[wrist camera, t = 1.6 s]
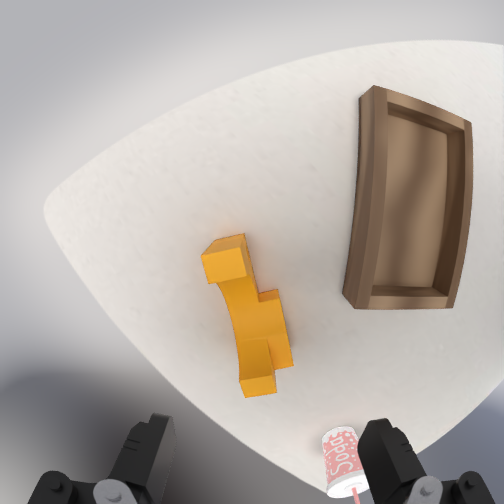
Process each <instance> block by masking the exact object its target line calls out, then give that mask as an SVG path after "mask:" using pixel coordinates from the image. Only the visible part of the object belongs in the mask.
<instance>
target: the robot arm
mask: <svg viewBox="0 0 504 504" xmlns="http://www.w3.org/2000/svg"><path fill="white" fill-rule="evenodd" d="M175 447H176V434H175V429H174V423H173V417H172V416H168V415H163V414H158V413H153V414H152V416H151V418H150V420H149V423H144V422H139V423H138V424H137V425H135V426H134V427H133V428H132V429H131V430H130V433H129V435H128V437H127V440H126V441H125V443H124V445H123V448H122V450H121V452H120V454H119V456H118V458H117V460H116V463H115V465H114V467H113V469H112V471H111V473H110V475H109V476H108V478H106V479H105V480H103V481H100V482H99V483H84V482H78V481H72V480H70V479H69V478H68V477H67V476H66V475H65V474H63V473H61V472H59V471H48V472H46V473H44V474H43V475H42V476H41V478H40V480H39V482H38V484H37V486H36V487H35V489H34V491H33V493H32V496H31V497H30V499H29V502H28V504H160V503H161V499H162V495H163V492H164V488H165V484H166V481H167V477H168V474H169V470H170V466H171V463H172V459H173V456H174V452H175ZM357 452H358V456H359V459H360V461H361V464H362V467H363V470H364V473H365V476H366V479H367V482H368V485H369V488H370V491H371V494H372V497H373V500H374V503H375V504H495V502H494V500H493V498H492V496H491V494H490V492H489V490H488V488H487V486H486V484H485V483H484V481H483V479H482V477H481V476H480V475H479V474H478V473H477V472H474V471H468V472H465V473H464V474H463V475H461V476H460V477H459V479H457V480H450V481H442V482H441V481H440V480H438V479H437V478H435V477H432V476H427V475H426V473H425V471H424V469H423V467H422V465H421V463H420V462H419V460H418V458H417V456H416V454H415V452H414V451H413V448H412V446H411V445H410V444H409V441H408V439H407V437H406V435H405V434H404V433H403V432H402V431H401V430H399V429H398V428H397V427H395V428H393V427H392V425H391V423H390V422H389V420H388V419H387V418H384V419H378V420H371V421H369V422H368V424H367V426H366V428H365V430H364V432H363V434H362V436H361V438H360V439H359V441H358V445H357Z"/></svg>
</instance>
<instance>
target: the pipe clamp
mask: <svg viewBox="0 0 504 504" xmlns="http://www.w3.org/2000/svg"><path fill="white" fill-rule="evenodd" d="M201 259H202V263H203V266H204V270H205V273H206V277H207V280H208V284H212V283H216V284H217V285H218V286H219V288H220V290H221V291H222V294H223V296H224V298H225V301H226V304H227V307H228V310H229V313H230V317H231V320H232V324H233V329H234V333H235V338H236V344H237V351H238V359H239V382H240V385H241V388H242V391H243V394H244V396H245V398H248V397H255V396H261V395H267V394H273V393H277V390H276V380H275V370H277V369H282V368H286V367H291V366H294V364H293V359H292V354H291V349H290V344H289V340H288V335H287V330H286V325H285V321H284V316H283V311H282V306H281V302H280V297H279V293H278V289H276V290H271V291H267V292H262V293H258V289H257V285H256V281H255V277H254V272H253V268H252V264H251V260H250V256H249V252H248V247H247V243H246V239H245V235H244V233H243V234H239V235H234V236H230V237H226V238H222V239H217V240H215V241H214V242H213V243H212V244H211V245H210V246H209V247H208V248H207V249H206V251H205V252H204V253H203V254H202V255H201Z"/></svg>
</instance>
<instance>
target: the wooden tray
mask: <svg viewBox="0 0 504 504" xmlns="http://www.w3.org/2000/svg"><path fill="white" fill-rule="evenodd" d="M472 191H473V140H472V125H471V122H469V121H467V120H465V119H463V118H461V117H459V116H457V115H455V114H452V113H450V112H448V111H446V110H443V109H441V108H439V107H436V106H434V105H431V104H429V103H426V102H424V101H421V100H418V99H416V98H413V97H410V96H407V95H404V94H401V93H398V92H395V91H392V90H389V89H386V88H382V87H379V86H375V85H373V86H372V87H371V88H370V89H369V90H368V91H367V92H365V93H364V94H363V95H362V96H361V97H360V98H359V144H358V166H357V181H356V194H355V205H354V215H353V224H352V233H351V241H350V248H349V255H348V262H347V269H346V275H345V281H344V287H343V293H342V294H343V296H344V297H345V298H346V299H347V300H348V302H349V303H350V304H351V305H352V306H353V308H354V309H384V310H393V309H444V308H453V305H454V302H455V298H456V294H457V290H458V286H459V282H460V278H461V273H462V268H463V264H464V258H465V253H466V247H467V240H468V233H469V225H470V217H471V206H472Z"/></svg>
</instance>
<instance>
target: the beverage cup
mask: <svg viewBox="0 0 504 504" xmlns="http://www.w3.org/2000/svg"><path fill="white" fill-rule="evenodd" d="M358 441H359V439H358V437H357V435H356V433H355V431H354V429H353V428H351V427H349V426H342V427H337V428H334V429H332V430H330V431H329V432H327V433H326V434H325V435H324V436H323V437H322V446H323V453H324V460H325V467H326V474H327V482H328V486H327V495H328V496H329V497H333V498H344V497H348V496H352V495H354V499H355V503H356V504H360V501H359V497H358V493H361V492H363V491H365V490H367V489H369V485H368V482H367V479H366V476H365V473H364V470H363V467H362V464H361V461H360V459H359V456H358V452H357V445H358Z"/></svg>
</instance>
